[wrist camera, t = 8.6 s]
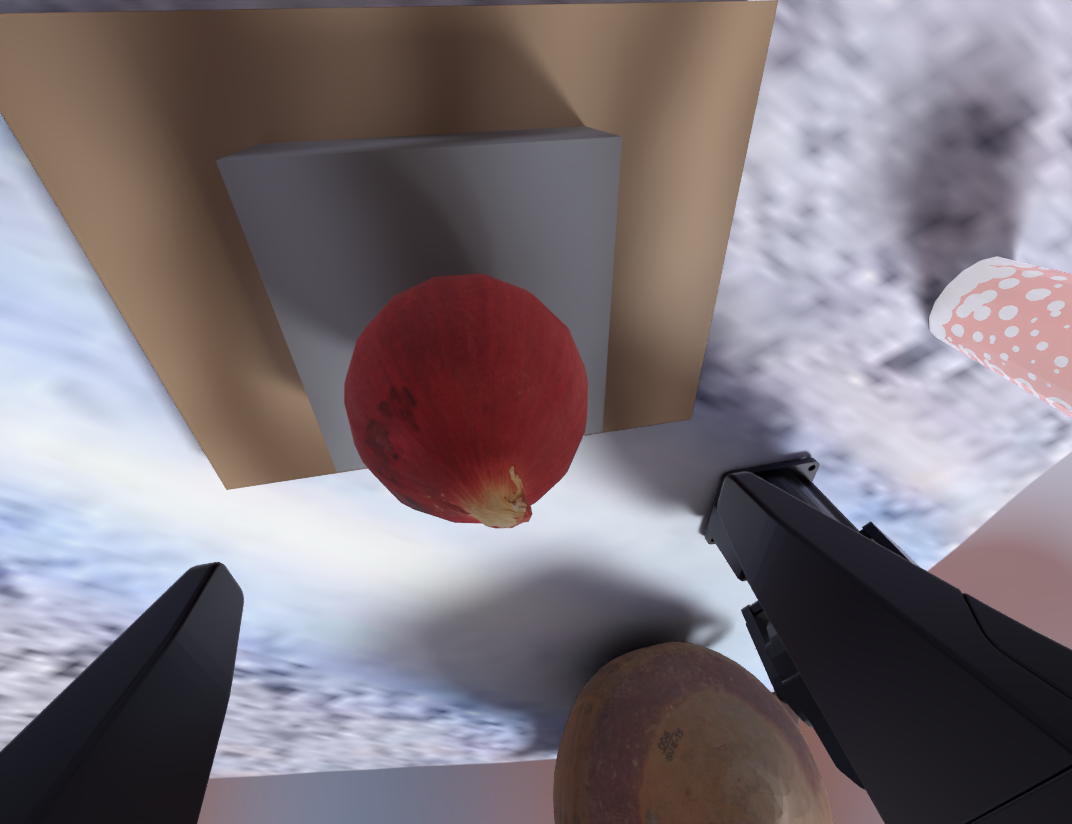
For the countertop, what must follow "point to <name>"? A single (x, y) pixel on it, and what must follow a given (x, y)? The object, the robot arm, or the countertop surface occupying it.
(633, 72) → the stacking base
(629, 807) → the jug
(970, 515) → the countertop surface
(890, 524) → the countertop surface
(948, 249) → the countertop surface
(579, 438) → the onion
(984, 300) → the beverage cup
